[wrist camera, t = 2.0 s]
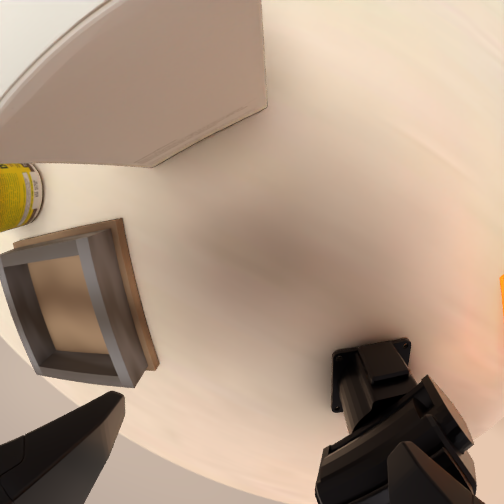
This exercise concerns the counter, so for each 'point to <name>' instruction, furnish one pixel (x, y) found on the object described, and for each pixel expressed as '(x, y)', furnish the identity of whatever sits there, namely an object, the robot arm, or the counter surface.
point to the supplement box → (125, 77)
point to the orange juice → (502, 290)
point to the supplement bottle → (19, 195)
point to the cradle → (79, 305)
